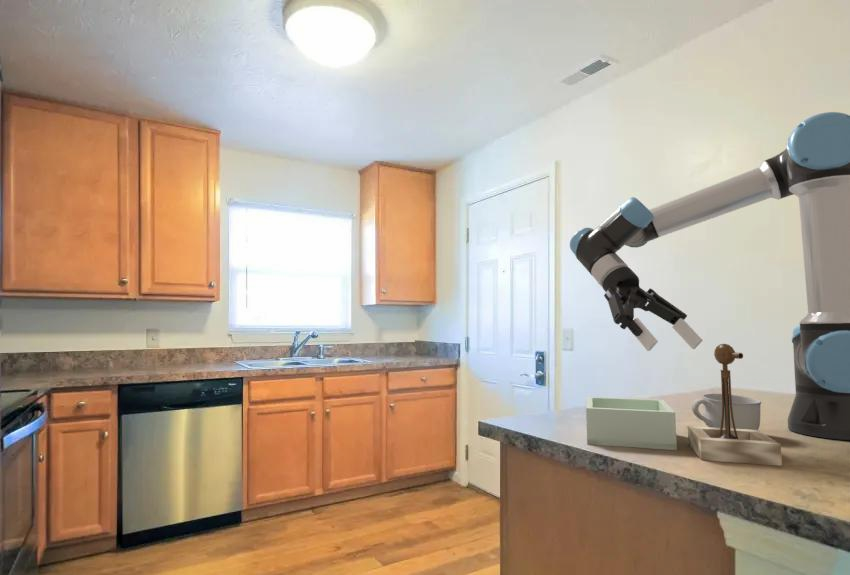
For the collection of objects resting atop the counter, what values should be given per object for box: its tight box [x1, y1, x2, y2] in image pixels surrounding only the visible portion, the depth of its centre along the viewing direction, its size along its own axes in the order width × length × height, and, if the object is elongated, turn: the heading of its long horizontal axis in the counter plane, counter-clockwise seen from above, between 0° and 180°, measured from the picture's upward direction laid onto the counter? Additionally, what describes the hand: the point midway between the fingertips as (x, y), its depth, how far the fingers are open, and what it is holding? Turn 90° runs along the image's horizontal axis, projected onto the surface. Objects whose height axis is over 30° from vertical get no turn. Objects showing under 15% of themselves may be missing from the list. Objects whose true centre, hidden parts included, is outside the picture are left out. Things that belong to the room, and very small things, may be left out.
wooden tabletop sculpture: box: [713, 343, 744, 439], centre depth 92 cm, size 6×5×20 cm
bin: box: [585, 396, 678, 451], centre depth 104 cm, size 16×16×7 cm
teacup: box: [691, 392, 762, 430], centre depth 108 cm, size 14×11×8 cm
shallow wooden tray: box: [687, 425, 783, 467], centre depth 91 cm, size 12×12×4 cm
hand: (676, 345), depth 102 cm, fingers open, 13 cm apart
